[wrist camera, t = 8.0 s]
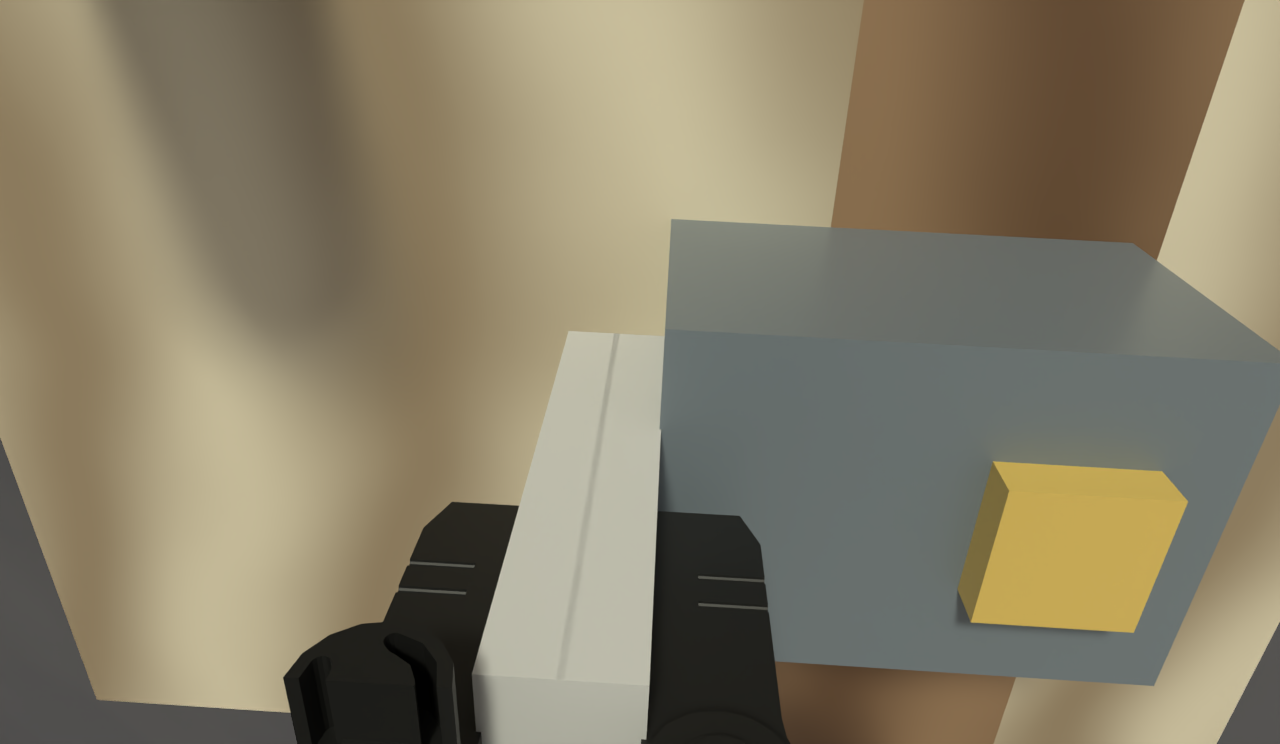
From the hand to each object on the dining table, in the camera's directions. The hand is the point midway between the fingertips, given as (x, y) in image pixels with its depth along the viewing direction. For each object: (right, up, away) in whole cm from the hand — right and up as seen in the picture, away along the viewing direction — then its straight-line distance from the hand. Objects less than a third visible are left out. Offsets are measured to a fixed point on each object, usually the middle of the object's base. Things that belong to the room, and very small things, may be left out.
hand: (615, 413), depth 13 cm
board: (+1, 0, +3) cm, 3 cm away
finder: (+4, +1, +1) cm, 4 cm away
